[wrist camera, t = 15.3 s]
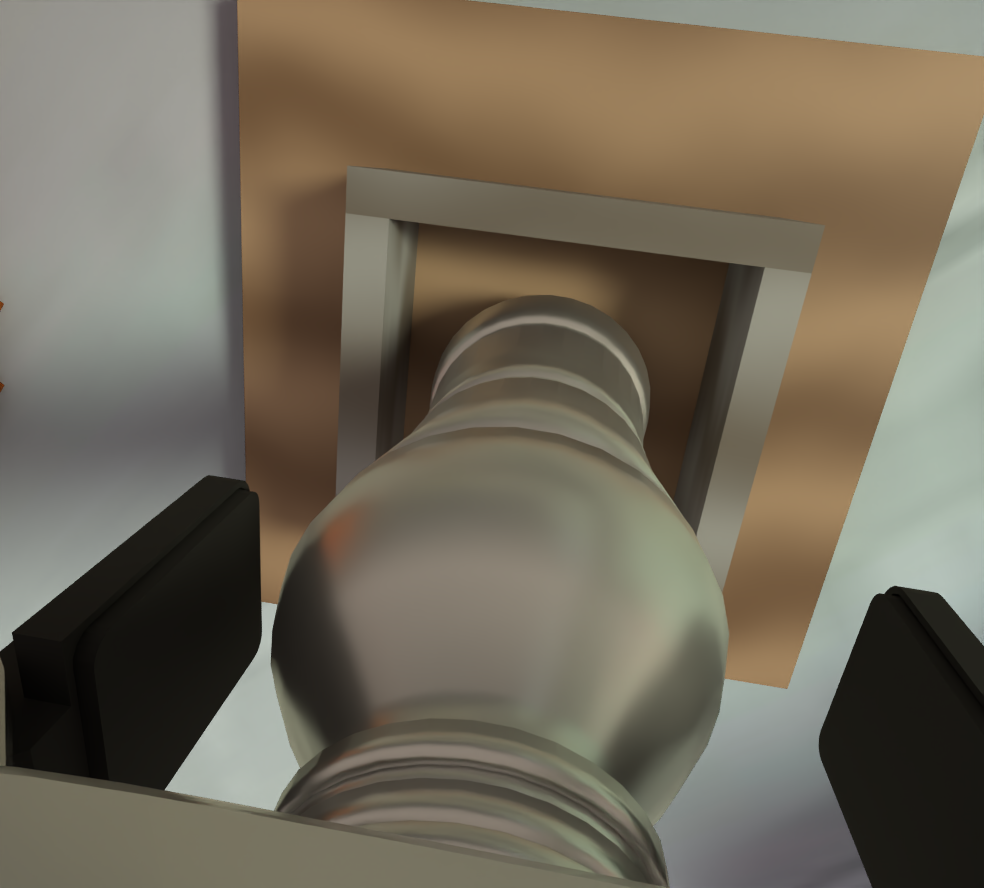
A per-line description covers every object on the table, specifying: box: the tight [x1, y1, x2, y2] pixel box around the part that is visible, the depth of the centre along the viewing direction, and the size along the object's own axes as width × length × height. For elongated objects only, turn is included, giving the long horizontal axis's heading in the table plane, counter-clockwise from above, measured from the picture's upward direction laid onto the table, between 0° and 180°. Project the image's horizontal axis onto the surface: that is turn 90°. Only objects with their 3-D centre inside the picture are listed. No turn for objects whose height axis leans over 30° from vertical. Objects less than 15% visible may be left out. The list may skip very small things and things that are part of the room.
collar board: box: [237, 0, 984, 689], centre depth 23 cm, size 22×22×6 cm
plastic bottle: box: [271, 295, 729, 888], centre depth 14 cm, size 6×7×20 cm
